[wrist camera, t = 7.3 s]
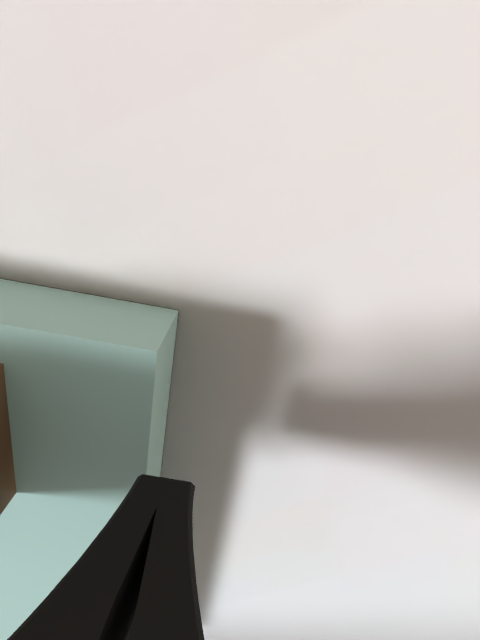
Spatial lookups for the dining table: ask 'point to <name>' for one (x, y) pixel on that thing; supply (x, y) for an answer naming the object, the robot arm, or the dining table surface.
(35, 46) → the dining table surface
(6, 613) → the board
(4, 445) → the walnut block
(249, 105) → the dining table surface
